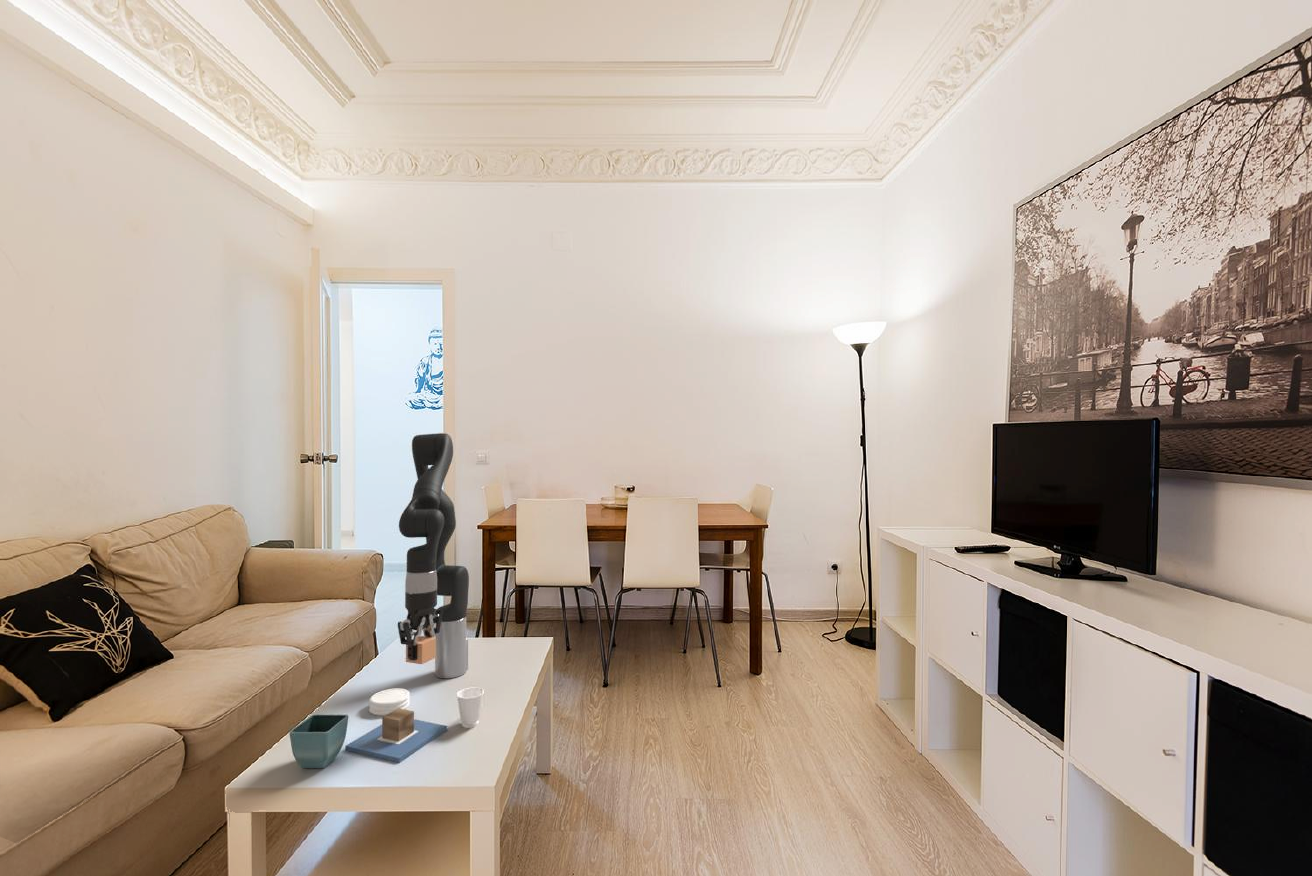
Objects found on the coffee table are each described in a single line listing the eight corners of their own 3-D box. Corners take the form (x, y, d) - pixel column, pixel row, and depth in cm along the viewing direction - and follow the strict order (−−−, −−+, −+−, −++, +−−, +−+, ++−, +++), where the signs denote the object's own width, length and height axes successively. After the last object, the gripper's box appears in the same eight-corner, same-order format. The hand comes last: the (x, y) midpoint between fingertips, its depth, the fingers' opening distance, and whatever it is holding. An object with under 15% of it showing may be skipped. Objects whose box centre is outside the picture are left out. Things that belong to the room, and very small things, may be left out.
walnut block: (397, 728, 148) (397, 708, 148) (413, 731, 146) (413, 711, 146) (382, 738, 143) (382, 717, 143) (398, 741, 141) (398, 720, 141)
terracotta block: (419, 655, 154) (420, 636, 154) (435, 657, 152) (436, 638, 152) (405, 662, 149) (406, 641, 149) (422, 664, 147) (422, 644, 147)
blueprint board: (396, 719, 155) (396, 715, 155) (447, 730, 149) (447, 725, 149) (345, 750, 140) (345, 745, 140) (399, 762, 134) (399, 758, 134)
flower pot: (312, 752, 139) (312, 713, 139) (349, 752, 138) (349, 714, 138) (288, 773, 130) (288, 732, 130) (327, 774, 130) (327, 732, 130)
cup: (451, 730, 149) (451, 698, 149) (465, 712, 159) (465, 682, 159) (480, 730, 149) (480, 698, 149) (491, 712, 159) (491, 682, 159)
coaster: (393, 718, 156) (394, 705, 156) (360, 714, 158) (360, 701, 158) (417, 702, 165) (417, 689, 165) (385, 698, 168) (385, 686, 168)
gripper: (428, 581, 159) (428, 645, 158) (388, 593, 145) (387, 664, 145) (452, 583, 156) (451, 649, 156) (413, 596, 143) (412, 668, 142)
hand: (420, 655), depth 150 cm, fingers closed on terracotta block, 5 cm apart
